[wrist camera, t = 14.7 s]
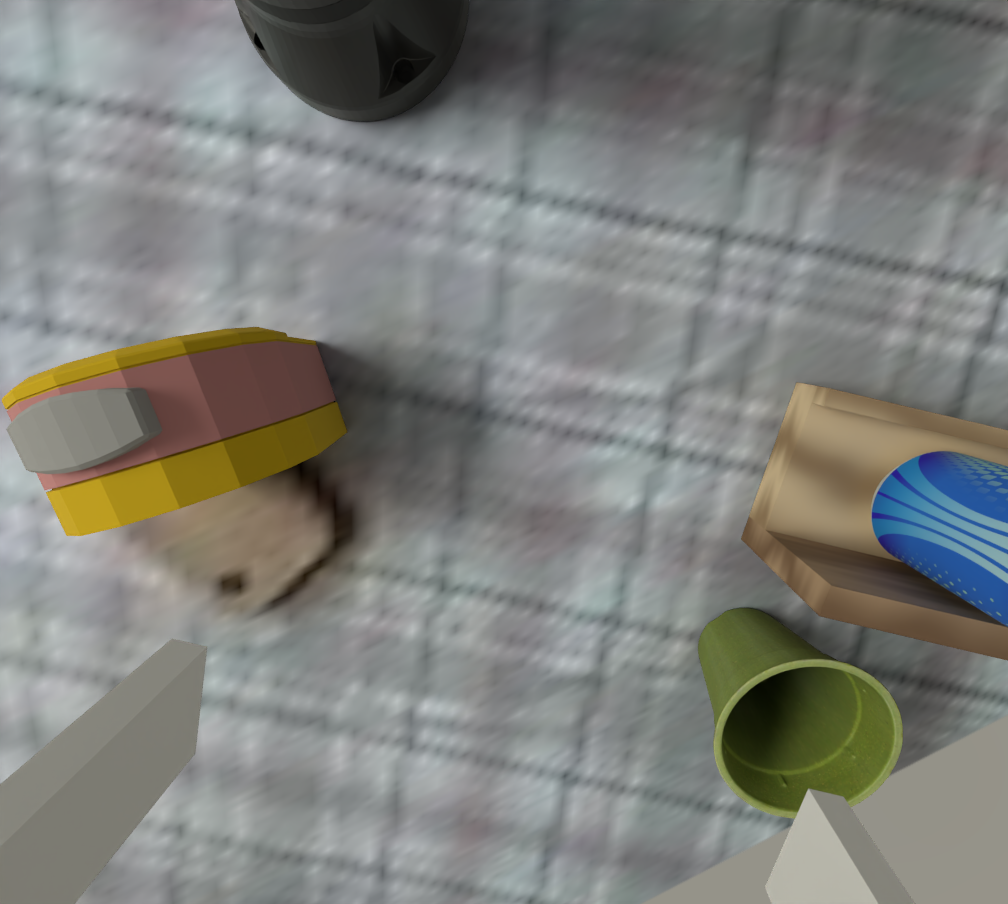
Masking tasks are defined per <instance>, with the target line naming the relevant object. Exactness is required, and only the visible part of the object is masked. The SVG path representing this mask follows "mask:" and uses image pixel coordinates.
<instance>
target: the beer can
mask: <svg viewBox="0 0 1008 904" xmlns="http://www.w3.org/2000/svg"><path fill="white" fill-rule="evenodd" d="M871 522H872V528H873V531H874V534H875V536H876V538H877V540H878V542H879V543H880V544H881V546H882V547H883V548H884V549H885V550H886V551H887V552H888V553H890V554H891V555H892V556H894V557H895V558H897V559H899V560H900V561H902V562H903V563H905V564H907V565H908V566H910V567H912V568H913V569H915V570H916V571H918V572H920V573H921V574H923V575H925V576H926V577H928V578H929V579H931V580H933V581H934V582H936V583H938V584H939V585H941V586H942V587H944V588H946V589H947V590H949V591H950V592H952V593H954V594H955V595H957V596H959V597H960V598H962V599H963V600H965V601H967V602H968V603H970V604H972V605H973V606H975V607H976V608H978V609H980V610H981V611H983V612H984V613H986V614H988V615H989V616H991V617H993V618H994V619H996V620H997V621H999V622H1001V623H1002V624H1004V625H1006V626H1007V627H1008V466H1005V465H1001V464H998V463H994V462H990V461H987V460H983V459H980V458H976V457H972V456H969V455H965V454H962V453H957V452H951V451H936V452H929V453H925V454H922V455H919V456H916V457H914V458H911V459H909V460H908V461H906V462H904V463H903V464H901V465H899V466H897V467H896V468H894V469H893V470H892V471H890V472H889V473H888V474H887V475H886V476H885V477H884V478H883V479H882V481H881V482H880V483H879V485H878V487H877V488H876V490H875V493H874V495H873V499H872V503H871Z"/></svg>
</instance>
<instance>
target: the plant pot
mask: <svg viewBox="0 0 1008 904" xmlns="http://www.w3.org/2000/svg"><path fill="white" fill-rule="evenodd" d="M698 654H699V659H700V663H701V666H702V670H703V674H704V678H705V681H706V685H707V689H708V693H709V697H710V700H711V704H712V708H713V711H714V723H715V733H714V755H715V760H716V764H717V767H718V769H719V772H720V774H721V776H722V777H723V779H724V780H725V782H726V783H727V785H728V786H729V787H730V788H731V790H732V791H733V792H734V793H735V794H736V795H737V796H738V797H740V798H741V799H742V800H744V801H745V802H746V803H748V804H750V805H751V806H753V807H755V808H757V809H759V810H761V811H763V812H766V813H769V814H772V815H776V816H780V817H788V818H796V816H797V813H798V811H799V809H800V807H801V804H802V802H803V800H804V797H805V795H806V793H807V791H808V789H813V790H817V791H821V792H825V793H830V794H834V795H838V796H842V797H844V798H845V800H846V801H847V803H848V804H849V806H850V807H852V806H854V805H856V804H858V803H860V802H861V801H863V800H864V799H866V798H867V797H868V796H870V795H871V794H872V793H874V792H875V791H876V790H877V789H878V788H879V787H880V786H881V785H882V784H883V783H884V781H885V780H886V779H887V778H888V777H889V775H890V773H891V771H892V769H893V768H894V767H895V765H896V762H897V760H898V757H899V754H900V751H901V748H902V743H903V733H902V732H903V727H902V719H901V715H900V712H899V709H898V706H897V704H896V702H895V700H894V699H893V697H892V695H891V694H890V693H889V691H888V690H887V689H886V688H885V687H884V686H883V685H882V684H881V683H880V682H879V681H878V680H877V679H876V678H874V677H873V676H872V675H870V674H869V673H867V672H865V671H864V670H862V669H860V668H858V667H856V666H853V665H851V664H848V663H845V662H841V661H837V660H836V659H834V658H832V657H830V656H828V655H826V654H823V653H821V652H820V651H819V650H817V649H816V648H814V647H813V646H812V645H810V644H809V643H807V642H806V641H805V640H803V639H802V638H800V637H799V636H798V635H796V634H795V633H793V632H792V631H791V630H789V629H788V628H787V627H785V626H784V625H782V624H781V623H779V622H778V621H777V620H775V619H774V618H772V617H771V616H769V615H768V614H766V613H764V612H762V611H759V610H756V609H751V608H738V609H732V610H729V611H726V612H724V613H723V614H722V615H720V616H719V617H718V618H716V619H715V620H713V621H711V622H710V623H708V624H707V626H706V627H705V628H704V630H703V632H702V634H701V636H700V639H699V644H698Z"/></svg>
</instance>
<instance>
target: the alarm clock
mask: <svg viewBox="0 0 1008 904" xmlns="http://www.w3.org/2000/svg"><path fill="white" fill-rule="evenodd" d="M335 400H336V398H335V395H334V392H333V389H332V387H331V384H330V381H329V378H328V375H327V372H326V370H325V367H324V364H323V361H322V358H321V355H320V353H319V350H318V347H317V346H316V341H313V340H306V339H300V338H293V337H287V334H286V333H283V332H279V331H274V330H269V329H264V328H259V327H249V328H234V329H222V330H216V331H210V332H203V333H197V334H190V335H184V336H177V337H172V338H168V339H163V340H158V341H154V342H149V343H144V344H140V345H135V346H131V347H126V348H121V349H117V350H113V351H110V352H106V353H102V354H99V355H95V356H91V357H88V358H84V359H81V360H77V361H73V362H70V363H66V364H63V365H60V366H58V367H55V368H52V369H50V370H47V371H44V372H42V373H39V374H37V375H34V376H31V377H29V378H27V379H26V380H24V381H23V382H21V383H20V384H19V385H17V386H16V387H15V388H13V389H12V390H11V391H10V392H9V393H8V394H7V395H5V396H4V397H3V398H2V403H3V405H4V407H5V409H8V411H7V413H8V415H9V417H10V419H11V421H12V423H11V424H10V425H9V426H8V428H7V431H8V433H9V435H10V438H11V440H12V442H13V444H14V446H15V448H16V450H17V452H18V454H19V456H20V458H21V460H22V462H23V464H24V466H25V468H26V470H28V471H31V472H36V473H37V475H38V477H39V479H40V481H41V483H42V486H43V488H44V490H48V489H52V490H51V491H49V492H46V494H47V496H48V498H49V500H50V502H51V504H52V506H53V508H54V510H55V512H56V515H57V517H58V519H59V521H60V523H61V525H62V527H63V529H64V531H65V533H66V535H67V536H83V535H87V534H91V533H95V532H100V531H104V530H108V529H112V528H117V527H121V526H124V525H127V524H131V523H134V522H137V521H141V520H144V519H147V518H150V517H154V516H157V515H160V514H164V513H167V512H170V511H173V510H177V509H180V508H183V507H186V506H189V505H191V504H194V503H197V502H200V501H203V500H206V499H209V498H212V497H214V496H217V495H220V494H223V493H226V492H229V491H232V490H235V489H237V488H240V487H243V486H245V485H248V484H250V483H253V482H255V481H258V480H261V479H263V478H266V477H268V476H271V475H273V474H276V473H278V472H281V471H283V470H286V469H288V468H291V467H293V466H295V465H297V464H299V463H301V462H303V461H305V460H307V459H310V458H312V457H314V456H316V455H318V454H320V453H321V452H322V451H323V450H325V449H326V448H327V447H329V446H330V445H331V444H333V443H334V442H335V441H336V440H338V439H339V438H340V437H342V436H343V435H344V434H346V433H347V429H346V426H345V424H344V421H343V418H342V415H341V412H340V409H339V407H338V404H337V402H335V403H334V402H333V401H335Z"/></svg>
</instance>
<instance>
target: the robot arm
mask: <svg viewBox="0 0 1008 904" xmlns="http://www.w3.org/2000/svg"><path fill="white" fill-rule="evenodd" d="M235 3H236V5H237V8H238V10H239V14H240V17H241V19H242V22H243V24H244V27H245V29H246V31H247V33H248V36H249V38H250V40H251V41H252V43H253V45H254V47H255V48H256V50H257V52H258V53H259V55H260V56H261V58H262V59H263V61H264V62H265V63H266V65H267V66H268V67H269V68H270V69H271V71H272V72H273V73H274V74H275V75H276V76H277V77H278V78H279V79H280V80H281V81H282V82H283V83H284V84H285V85H286V86H287V87H288V88H289V89H290V90H291V91H292V92H293V93H294V94H295V95H296V96H297V97H299V98H300V99H301V100H302V101H304V102H305V103H307V104H308V105H310V106H311V107H313V108H315V109H317V110H318V111H321V112H323V113H325V114H328V115H330V116H333V117H336V118H340V119H345V120H351V121H374V120H381V119H385V118H389V117H392V116H395V115H397V114H400V113H402V112H404V111H406V110H408V109H410V108H412V107H413V106H415V105H416V104H418V103H419V102H420V101H422V100H423V99H424V98H425V97H427V96H428V95H429V94H430V93H431V92H432V91H433V90H434V89H435V88H436V87H437V85H438V84H439V83H440V82H441V81H442V79H443V78H444V77H445V75H446V74H447V72H448V70H449V69H450V67H451V66H452V64H453V62H454V60H455V58H456V56H457V53H458V51H459V48H460V46H461V43H462V40H463V36H464V33H465V29H466V24H467V18H468V10H469V0H235ZM206 653H207V647H205V646H201V645H197V644H193V643H188V642H184V641H180V640H176V639H171V640H170V641H169V642H168V643H166V644H165V645H164V646H163V647H162V648H161V649H159V650H158V651H157V652H156V653H155V654H153V655H152V656H151V657H150V658H149V659H148V660H146V661H145V662H144V663H143V664H142V665H140V666H139V667H138V668H137V669H136V670H135V671H133V672H132V673H131V674H130V675H129V676H128V677H126V678H125V679H124V680H123V681H122V682H120V683H119V684H118V685H117V686H116V687H115V688H113V689H112V690H111V691H110V692H109V693H107V694H106V695H105V696H104V697H103V698H102V699H100V700H99V701H98V702H97V703H96V704H95V705H93V706H92V707H91V708H90V709H89V710H87V711H86V712H85V713H84V714H83V715H82V716H80V717H79V718H78V719H77V720H76V721H74V722H73V723H72V724H71V725H70V726H69V727H67V728H66V729H65V730H64V731H63V732H62V733H60V734H59V735H58V736H57V737H56V738H54V739H53V740H52V741H51V742H50V743H49V744H47V745H46V746H45V747H44V748H43V749H41V750H40V751H39V752H38V753H37V754H36V755H34V756H33V757H32V758H31V759H30V760H28V761H27V762H26V763H25V764H24V765H23V766H21V767H20V768H19V769H18V770H17V771H16V772H14V773H13V774H12V775H11V776H10V777H8V778H7V779H6V780H5V781H4V782H3V783H1V784H0V904H75V903H76V901H77V900H78V899H79V898H80V896H81V895H82V894H83V893H84V891H85V890H86V889H87V888H88V886H89V885H90V884H91V883H92V882H93V880H94V879H95V878H96V877H97V875H98V874H99V873H100V872H101V870H102V869H103V868H104V867H105V865H106V864H107V863H108V862H109V860H110V859H111V858H112V857H113V855H114V854H115V853H116V852H117V850H118V849H119V848H120V847H121V845H122V844H123V843H124V842H125V840H126V839H127V838H128V837H129V835H130V834H131V833H132V832H133V830H134V829H135V828H136V827H137V825H138V824H139V823H140V822H141V820H142V819H143V818H144V817H145V815H146V814H147V813H148V812H149V810H150V809H151V808H152V807H153V805H154V804H155V803H156V802H157V800H158V799H159V798H160V797H161V795H162V794H163V793H164V792H165V790H166V789H167V788H168V787H169V785H170V784H171V783H172V782H173V780H174V779H175V778H176V777H177V776H178V774H179V773H180V772H181V771H182V769H183V768H184V767H185V766H186V764H187V763H188V762H189V761H190V759H191V758H192V757H193V756H194V754H195V751H196V742H197V733H198V725H199V716H200V707H201V698H202V689H203V680H204V671H205V662H206ZM765 889H766V891H767V893H768V896H769V898H770V901H771V903H772V904H915V903H914V901H913V899H912V898H911V896H910V895H909V894H908V892H907V891H906V889H905V888H904V886H903V885H902V883H901V882H900V880H899V879H898V877H897V876H896V874H895V873H894V871H893V870H892V869H891V867H890V865H889V864H888V862H887V861H886V859H885V858H884V856H883V855H882V853H881V852H880V850H879V849H878V847H877V846H876V845H875V843H874V842H873V840H872V838H871V837H870V835H869V834H868V833H867V831H866V830H865V828H864V827H863V825H862V824H861V822H860V821H859V819H858V818H857V816H856V815H855V813H854V812H853V810H852V809H851V807H850V806H849V804H848V803H847V801H846V800H845V798H844V797H842V796H838V795H834V794H830V793H825V792H821V791H817V790H813V789H808V791H807V793H806V795H805V797H804V800H803V802H802V804H801V807H800V809H799V811H798V813H797V816H796V818H795V820H794V823H793V825H792V827H791V829H790V832H789V834H788V836H787V838H786V841H785V843H784V845H783V848H782V850H781V852H780V854H779V857H778V859H777V861H776V864H775V866H774V868H773V870H772V873H771V875H770V877H769V880H768V882H767V884H766V886H765Z"/></svg>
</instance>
